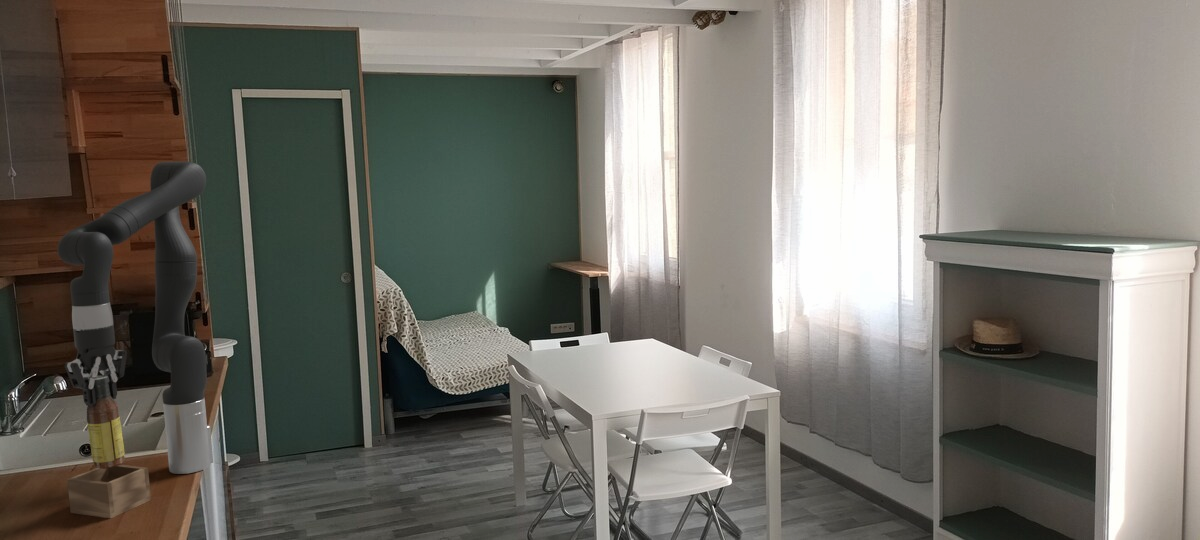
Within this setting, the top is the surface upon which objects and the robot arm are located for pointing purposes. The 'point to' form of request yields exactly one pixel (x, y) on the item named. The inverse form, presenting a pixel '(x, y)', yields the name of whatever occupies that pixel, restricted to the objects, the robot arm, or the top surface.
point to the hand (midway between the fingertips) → (101, 401)
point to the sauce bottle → (105, 427)
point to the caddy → (109, 490)
